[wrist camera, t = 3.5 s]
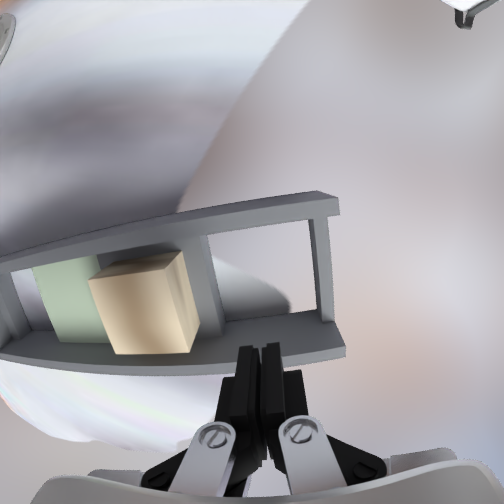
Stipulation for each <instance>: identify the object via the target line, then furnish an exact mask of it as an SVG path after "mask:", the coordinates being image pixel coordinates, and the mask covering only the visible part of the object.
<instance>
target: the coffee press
mask: <svg viewBox="0 0 504 504" xmlns="http://www.w3.org/2000/svg"><path fill="white" fill-rule="evenodd" d="M441 1H442V2H444V3H446V4H448V5H449V6H451V7H453V8H454V9H455V22H456V25H457V26H458V27H459V28H462V29H468V30H469V29H471V27H472V24H473V20H474V17H475V15H476V14H477V13H479V12H481V11H482V10H484V9H486V8H488V7H490V6H492V5H494V4H495V3H497V2H499V1H501V0H441ZM463 12H467V15H466V18H465V22H464V24H463Z"/></svg>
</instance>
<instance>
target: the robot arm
mask: <svg viewBox="0 0 504 504" xmlns="http://www.w3.org/2000/svg"><path fill="white" fill-rule="evenodd" d="M14 29H15V18H14V16H13V15H11V14H8V13H5V14H2V15H0V63H1V61H2V59H3V57H4V55H5V53H6V51H7V49H8V47H9V44H10V42H11V39H12V36H13V33H14ZM267 446H268V450H269V454H270V458H271V459H273V460H274V464H275V468H276V469H278V470H279V471H281V472H282V473H284V474H286V478H287V481H288V486H289V489H290V494H291V495H287V496H274V497H247V493H248V490H249V486H250V482H251V474H252V473H253V472H255V471H256V470H257V469H258V467H262V460H267ZM30 504H504V488H503V486H502V485H501V483H500V481H499V480H498V478H497V477H496V475H495V474H494V473H493V471H492V470H491V469H490V468H489V467H488V466H487V465H485V464H484V463H482V462H481V461H478V460H471V459H459V460H457V457H456V455H455V453H454V452H453V451H452V450H451V449H448V448H437V449H432V450H427V451H421V452H415V453H409V454H402V455H394V456H391V457H390V458H387V459H381V458H379V457H377V456H375V455H372V454H370V453H368V452H365V451H363V450H360V449H358V448H356V447H353V446H351V445H348V444H346V443H344V442H342V441H340V440H337V439H335V438H333V437H331V436H329V435H327V434H326V433H325V431H324V429H323V426H322V424H321V423H320V421H319V420H317V419H316V418H314V417H311V416H309V415H308V409H307V402H306V396H305V389H304V383H303V377H302V371H301V370H294V371H285V372H284V370H283V363H282V355H281V348H280V342H274V343H267V344H266V347H262V357H261V360H260V355H259V349H258V348H253V345H248V346H240V347H239V352H238V358H237V365H236V372H235V377H224V378H223V381H222V386H221V391H220V396H219V401H218V405H217V410H216V415H215V420H214V422H211V423H207V424H205V425H203V426H202V427H200V428H199V429H198V430H197V432H196V433H195V435H194V437H193V439H192V441H191V443H190V446H189V448H187V449H186V450H184V451H182V452H180V453H179V454H177V455H175V456H173V457H171V458H170V459H168V460H166V461H164V462H162V463H160V464H159V465H157V466H155V467H153V468H151V469H149V470H148V471H146V472H141V471H140V470H102V469H100V470H94V471H92V472H90V473H89V474H88V475H87V476H85V475H61V476H56V477H53V478H51V479H49V480H48V481H46V483H44V485H43V486H42V487H41V488H40V489H39V491H38V492H37V494H36V495H35V497H34V498H33V500H32V502H31V503H30Z"/></svg>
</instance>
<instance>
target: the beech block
mask: <svg viewBox="0 0 504 504" xmlns="http://www.w3.org/2000/svg"><path fill="white" fill-rule="evenodd" d="M87 281H88V284H89V287H90V290H91V293H92V295H93V298H94V301H95V304H96V307H97V309H98V312H99V315H100V317H101V320H102V322H103V325H104V328H105V330H106V332H107V335H108V337H109V340H110V342H111V344H112V347H113V349H114V351H115V353H116V354H168V353H189V352H190V349H191V347H192V344H193V341H194V339H195V336H196V333H197V331H198V328H199V325H200V320H199V317H198V313H197V309H196V306H195V302H194V298H193V294H192V290H191V286H190V282H189V278H188V274H187V270H186V266H185V262H184V257H183V253H182V251H176V252H170V253H164V254H158V255H152V256H146V257H140V258H134V259H128V260H122V261H116V262H112V263H111V264H109V265H108V266H107V267H105V268H104V269H102V270H101V271H99V272H98V273H97V274H95V275H94V276H92V277H91V278H90V279H88V280H87Z"/></svg>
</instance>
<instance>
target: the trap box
mask: <svg viewBox="0 0 504 504" xmlns="http://www.w3.org/2000/svg"><path fill="white" fill-rule="evenodd" d="M337 215H340V210H339V201H338V197H335V196H331V195H329V194H326V193H323V192H320V191H310V192H302V193H295V194H288V195H281V196H274V197H267V198H260V199H254V200H248V201H241V202H235V203H230V204H224V205H218V206H212V207H207V208H201V209H196V210H190V211H185V212H180V213H175V214H170V215H165V216H160V217H155V218H150V219H145V220H141V221H136V222H132V223H127V224H123V225H118V226H114V227H109V228H105V229H101V230H97V231H93V232H89V233H85V234H81V235H77V236H73V237H69V238H65V239H61V240H57V241H54V242H50V243H46V244H43V245H39V246H36V247H32V248H29V249H25V250H22V251H18V252H15V253H12V254H8V255H5V256H2V257H0V359H1V360H6V361H10V362H15V363H20V364H26V365H31V366H37V367H44V368H50V369H58V370H65V371H74V372H84V373H95V374H109V375H129V376H193V375H214V374H229V373H235V372H236V365H237V358H238V352H239V347H240V346H248V345H253V348H258V349H259V355H260V360H261V357H262V347H266V344H267V343H274V342H280V348H281V355H282V363H283V368H285V367H291V366H298V365H305V364H311V363H317V362H322V361H328V360H333V359H338V358H343V357H346V346H345V343H344V341H343V339H342V337H341V334H340V332H339V330H338V328H337V326H336V323H335V321H334V297H333V296H334V295H333V280H332V279H333V278H332V264H331V252H330V240H329V230H328V220H327V217H329V216H337ZM307 219H308V222H309V231H310V239H311V248H312V258H313V269H314V278H315V279H314V280H315V291H316V304H317V309H315V310H309V311H302V312H296V313H289V314H283V315H276V316H268V317H261V318H253V319H245V320H237V321H228V322H226V320H225V316H224V311H223V307H222V303H221V298H220V294H219V289H218V285H217V280H216V275H215V271H214V266H213V261H212V257H211V252H210V247H209V243H208V237H207V235H209V234H215V233H221V232H227V231H233V230H240V229H247V228H253V227H260V226H266V225H273V224H280V223H286V222H294V221H301V220H307ZM176 251H182V253H183V257H184V262H185V266H186V270H187V274H188V278H189V282H190V286H191V290H192V294H193V298H194V302H195V306H196V309H197V313H198V317H199V320H200V325H199V328H198V331H197V333H196V336H195V339H194V341H193V344H192V347H191V349H190V352H189V353H168V354H116V353H115V351H114V349H113V347H112V344H111V342H110V340H109V337H108V335H107V332H106V330H105V328H104V325H103V322H102V320H101V317H100V315H99V312H98V309H97V307H96V304H95V301H94V298H93V295H92V293H91V290H90V287H89V284H88V281H87V280H88V279H90V278H91V277H92V276H94V275H95V274H97V273H98V272H99V271H101V270H102V269H104V268H105V267H107V266H108V265H109V264H111V263H112V262H116V261H122V260H128V259H134V258H140V257H146V256H152V255H158V254H164V253H170V252H176ZM28 268H32V271H33V274H34V277H35V280H36V283H37V286H38V289H39V292H40V295H41V298H42V300H43V303H44V306H45V308H46V311H47V313H48V316H49V318H50V320H51V323H52V325H53V327H54V330H55V331H42V330H31V327H30V325H29V323H28V321H27V318H26V316H25V313H24V311H23V308H22V306H21V303H20V300H19V298H18V295H17V292H16V289H15V287H14V284H13V281H12V278H11V274H10V272H14V271H18V270H23V269H28Z"/></svg>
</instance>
